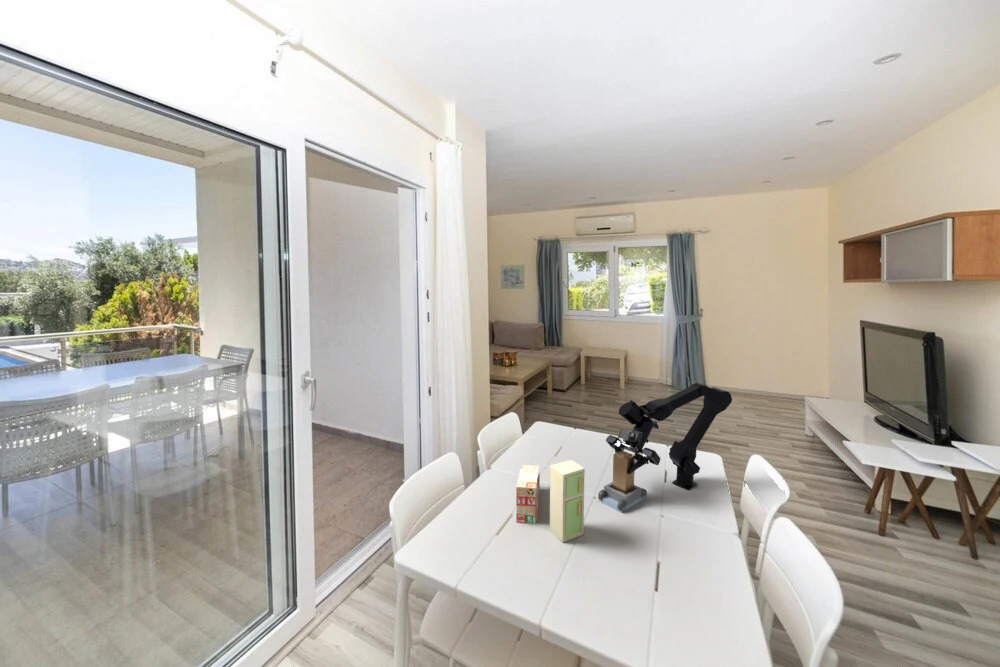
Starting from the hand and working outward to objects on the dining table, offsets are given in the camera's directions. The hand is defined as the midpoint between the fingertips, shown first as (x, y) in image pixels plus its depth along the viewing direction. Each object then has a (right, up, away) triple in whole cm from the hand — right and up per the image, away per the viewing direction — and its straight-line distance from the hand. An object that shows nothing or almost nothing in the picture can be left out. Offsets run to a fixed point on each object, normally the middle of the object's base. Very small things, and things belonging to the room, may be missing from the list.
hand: (621, 470), depth 132 cm
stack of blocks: (-32, -12, -1) cm, 34 cm away
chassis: (+1, -11, +2) cm, 11 cm away
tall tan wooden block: (+1, -6, +2) cm, 7 cm away
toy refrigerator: (-21, -13, -16) cm, 30 cm away
